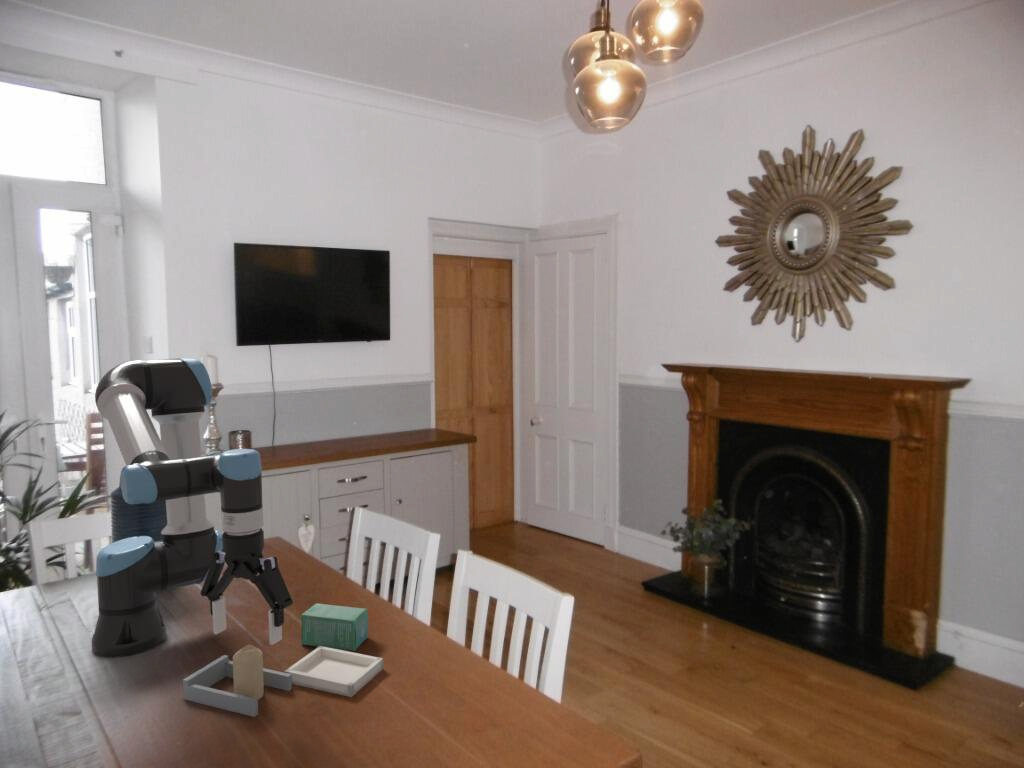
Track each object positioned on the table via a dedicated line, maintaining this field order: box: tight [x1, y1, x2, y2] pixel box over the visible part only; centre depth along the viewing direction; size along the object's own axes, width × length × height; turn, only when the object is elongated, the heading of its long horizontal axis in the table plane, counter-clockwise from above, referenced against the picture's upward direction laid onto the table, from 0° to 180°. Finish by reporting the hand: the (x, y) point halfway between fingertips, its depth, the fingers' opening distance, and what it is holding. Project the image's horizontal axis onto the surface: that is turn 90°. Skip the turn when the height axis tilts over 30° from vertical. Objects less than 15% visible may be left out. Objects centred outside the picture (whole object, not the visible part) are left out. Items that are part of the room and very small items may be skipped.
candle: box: [232, 644, 265, 701], centre depth 142 cm, size 6×6×10 cm
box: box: [301, 602, 369, 652], centre depth 166 cm, size 7×14×8 cm, turn 78°
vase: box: [110, 481, 167, 543], centre depth 198 cm, size 16×16×32 cm
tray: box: [283, 646, 384, 698], centre depth 150 cm, size 16×12×2 cm
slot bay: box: [182, 654, 293, 718], centre depth 143 cm, size 17×11×4 cm, turn 69°
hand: (247, 636), depth 141 cm, fingers open, 13 cm apart
